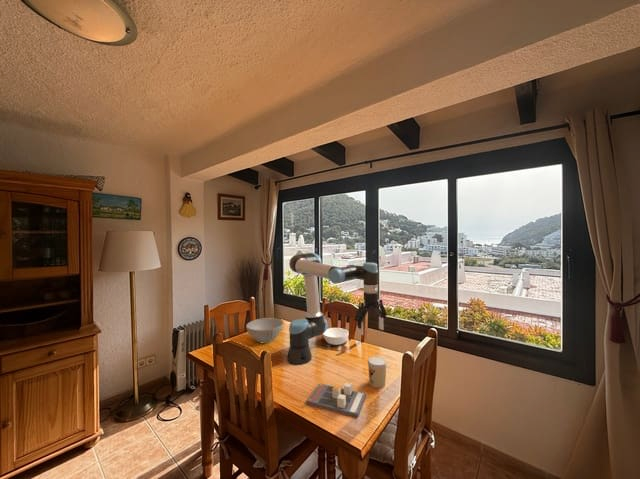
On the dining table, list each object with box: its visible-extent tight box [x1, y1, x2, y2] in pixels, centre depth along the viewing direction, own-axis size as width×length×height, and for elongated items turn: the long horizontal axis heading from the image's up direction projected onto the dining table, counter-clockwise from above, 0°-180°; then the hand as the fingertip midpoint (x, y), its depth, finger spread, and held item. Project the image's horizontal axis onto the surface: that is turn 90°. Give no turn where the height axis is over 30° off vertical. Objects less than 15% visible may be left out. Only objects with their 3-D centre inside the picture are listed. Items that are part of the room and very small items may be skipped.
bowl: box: [322, 327, 350, 346], centre depth 186 cm, size 18×18×7 cm
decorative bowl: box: [245, 317, 284, 344], centre depth 192 cm, size 27×27×12 cm
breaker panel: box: [305, 382, 367, 419], centre depth 121 cm, size 24×15×6 cm, turn 67°
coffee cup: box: [367, 356, 387, 389], centre depth 133 cm, size 9×9×12 cm
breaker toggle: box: [332, 385, 341, 399], centre depth 121 cm, size 3×3×4 cm
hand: (371, 331), depth 139 cm, fingers open, 13 cm apart
